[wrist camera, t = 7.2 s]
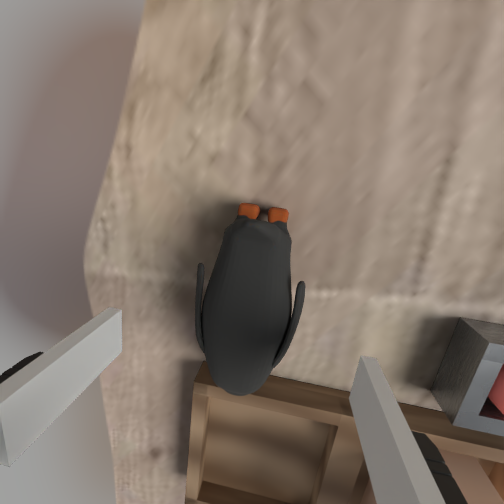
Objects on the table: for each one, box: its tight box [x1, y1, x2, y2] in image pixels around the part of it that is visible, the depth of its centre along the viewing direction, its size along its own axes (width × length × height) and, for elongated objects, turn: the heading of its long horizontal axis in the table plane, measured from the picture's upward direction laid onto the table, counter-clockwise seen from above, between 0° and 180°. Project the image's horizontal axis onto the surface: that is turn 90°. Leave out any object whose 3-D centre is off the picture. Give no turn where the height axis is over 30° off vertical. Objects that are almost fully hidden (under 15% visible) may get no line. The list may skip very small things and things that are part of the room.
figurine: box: [195, 203, 305, 396], centre depth 19 cm, size 7×10×15 cm
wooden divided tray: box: [185, 361, 504, 504], centre depth 25 cm, size 15×27×3 cm, turn 83°
